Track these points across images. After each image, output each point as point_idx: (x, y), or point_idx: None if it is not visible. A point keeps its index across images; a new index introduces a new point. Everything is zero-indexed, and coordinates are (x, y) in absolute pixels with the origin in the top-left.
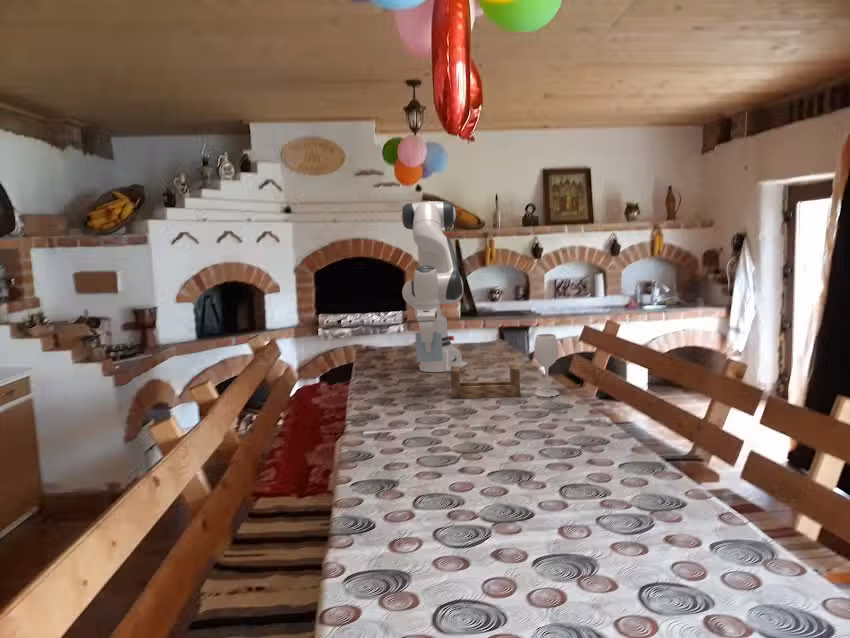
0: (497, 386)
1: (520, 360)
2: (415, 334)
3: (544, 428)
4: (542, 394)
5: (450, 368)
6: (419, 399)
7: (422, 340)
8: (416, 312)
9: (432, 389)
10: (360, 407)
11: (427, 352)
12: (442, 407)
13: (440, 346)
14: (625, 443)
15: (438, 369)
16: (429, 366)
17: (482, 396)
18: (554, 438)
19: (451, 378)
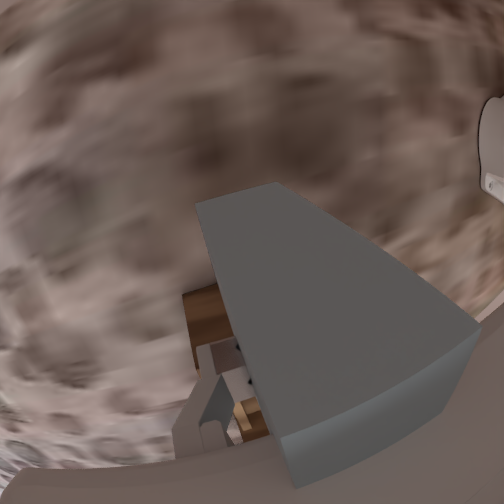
0: (234, 413)
1: (498, 291)
2: (278, 435)
3: (60, 463)
4: None
5: (488, 181)
6: (149, 178)
7: (8, 489)
8: None
9: (313, 177)
10: (17, 17)
11: (233, 330)
12: (73, 303)
13: (269, 432)
14: None
15: (485, 151)
16: (493, 128)
17: None
18: (34, 467)
19: (192, 347)
